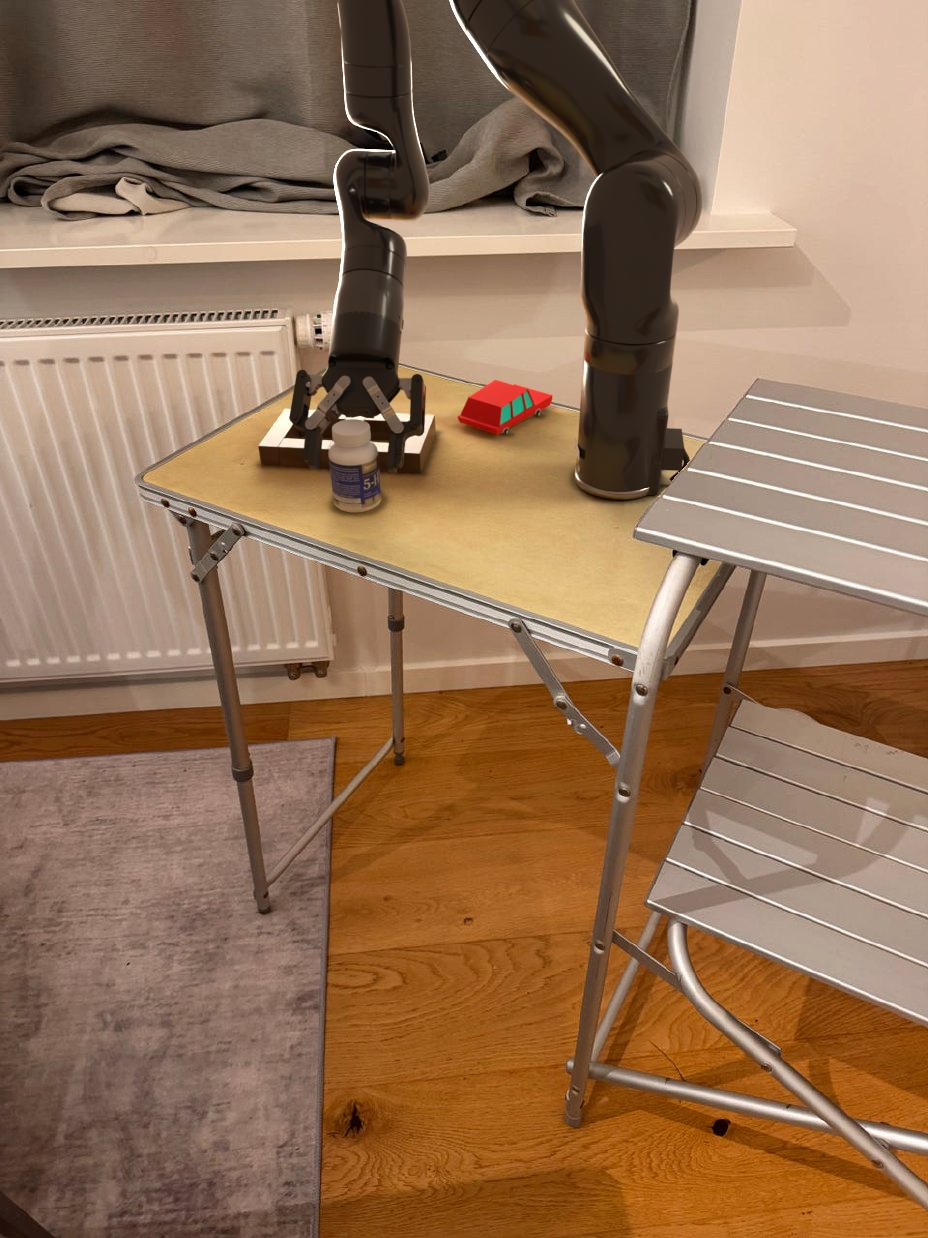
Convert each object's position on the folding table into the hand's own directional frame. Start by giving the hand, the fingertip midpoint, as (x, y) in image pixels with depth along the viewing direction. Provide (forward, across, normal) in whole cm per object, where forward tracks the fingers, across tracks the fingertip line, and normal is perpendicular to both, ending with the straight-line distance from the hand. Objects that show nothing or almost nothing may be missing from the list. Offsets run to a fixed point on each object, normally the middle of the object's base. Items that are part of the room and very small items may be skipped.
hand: (352, 469), depth 95 cm
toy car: (-15, +14, +22) cm, 29 cm away
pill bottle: (+2, 0, +5) cm, 5 cm away
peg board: (-7, -4, +14) cm, 16 cm away
